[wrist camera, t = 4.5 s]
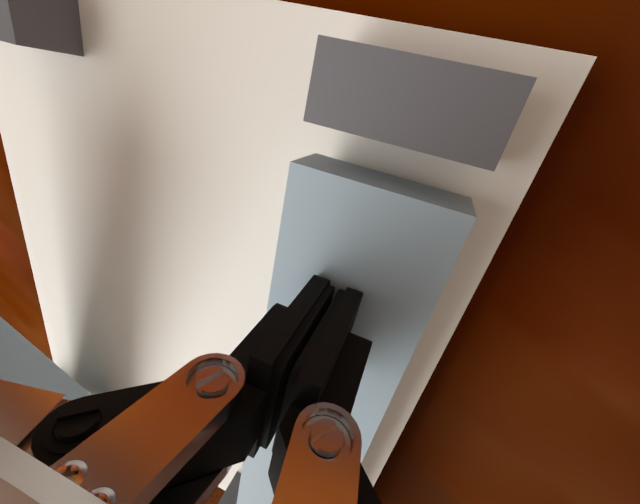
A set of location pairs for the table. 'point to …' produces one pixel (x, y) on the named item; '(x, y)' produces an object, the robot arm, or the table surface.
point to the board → (243, 163)
